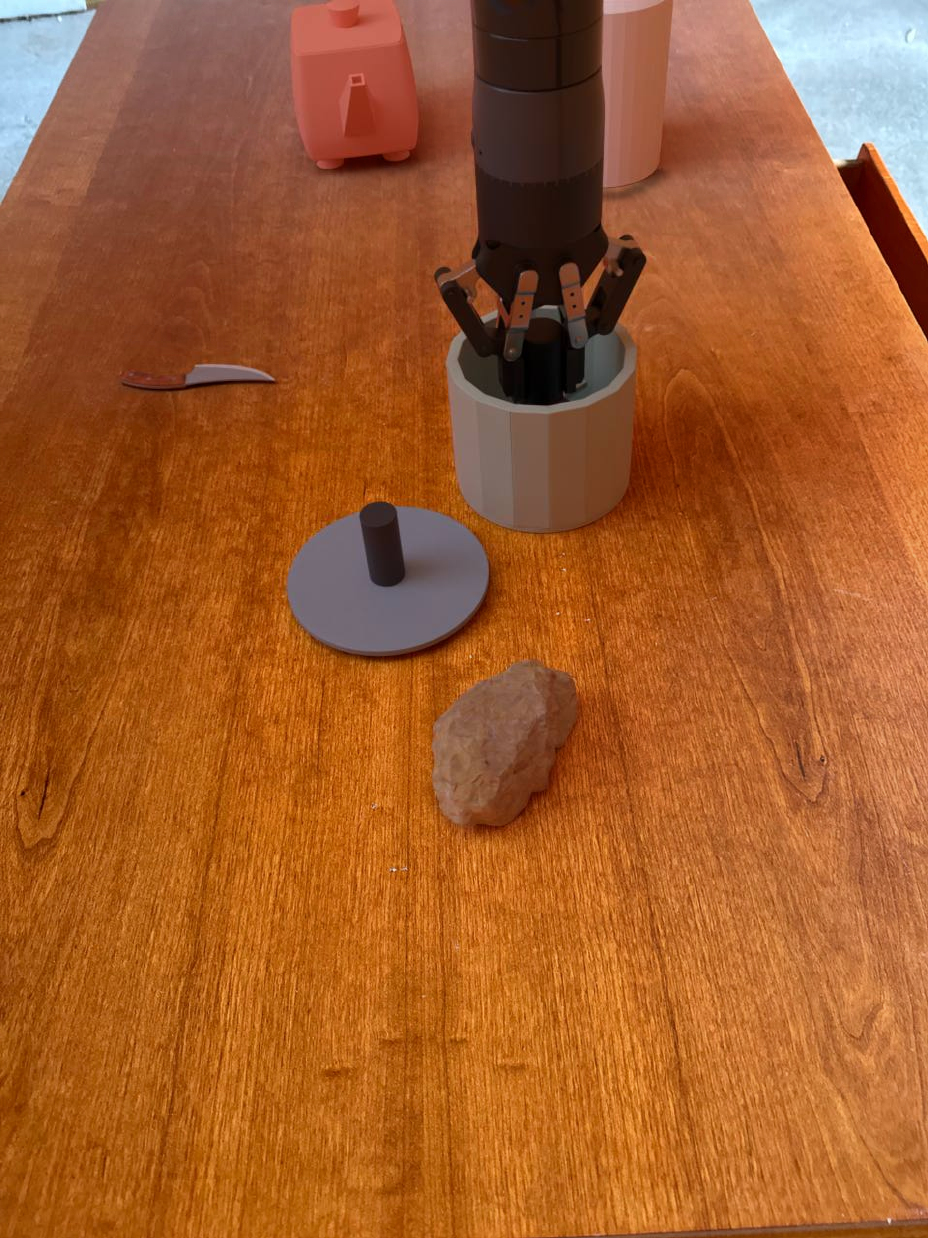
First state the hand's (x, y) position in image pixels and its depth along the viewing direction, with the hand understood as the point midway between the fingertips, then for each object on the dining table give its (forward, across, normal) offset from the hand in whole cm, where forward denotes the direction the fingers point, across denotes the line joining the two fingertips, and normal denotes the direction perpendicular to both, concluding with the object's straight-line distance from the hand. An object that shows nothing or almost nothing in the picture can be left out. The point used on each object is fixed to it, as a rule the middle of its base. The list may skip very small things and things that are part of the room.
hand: (541, 390), depth 78 cm
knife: (+8, -24, +20) cm, 32 cm away
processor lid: (+7, -13, -8) cm, 17 cm away
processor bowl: (+8, 0, 0) cm, 8 cm away
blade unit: (+2, 0, 0) cm, 2 cm away
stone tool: (+8, -9, -24) cm, 27 cm away
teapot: (+8, -4, +57) cm, 58 cm away
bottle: (+8, +19, +45) cm, 49 cm away
